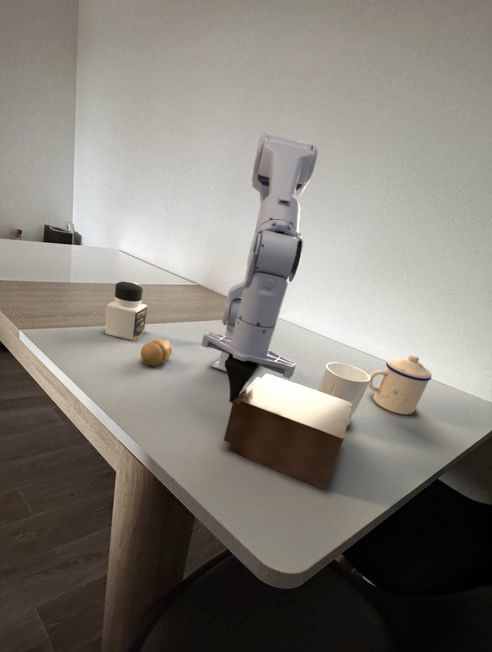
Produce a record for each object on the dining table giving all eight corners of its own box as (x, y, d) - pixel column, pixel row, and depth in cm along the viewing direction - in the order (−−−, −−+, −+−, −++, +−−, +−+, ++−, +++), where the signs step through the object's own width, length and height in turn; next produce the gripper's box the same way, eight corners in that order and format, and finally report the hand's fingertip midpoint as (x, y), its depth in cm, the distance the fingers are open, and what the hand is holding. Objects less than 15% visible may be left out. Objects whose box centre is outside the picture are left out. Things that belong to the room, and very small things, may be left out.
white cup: (351, 416, 77) (370, 370, 72) (351, 435, 70) (371, 386, 65) (312, 404, 78) (327, 358, 74) (307, 421, 71) (324, 372, 67)
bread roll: (155, 353, 86) (157, 333, 84) (174, 360, 85) (177, 340, 83) (134, 363, 79) (137, 341, 77) (155, 371, 78) (158, 349, 76)
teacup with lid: (403, 398, 90) (424, 352, 85) (422, 418, 82) (446, 368, 77) (354, 389, 89) (372, 342, 84) (367, 409, 81) (389, 358, 76)
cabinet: (228, 450, 59) (240, 400, 55) (254, 416, 69) (266, 373, 66) (323, 490, 54) (343, 439, 51) (335, 447, 65) (353, 403, 61)
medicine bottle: (133, 341, 90) (138, 289, 85) (104, 333, 91) (107, 282, 86) (144, 332, 97) (149, 284, 91) (117, 325, 97) (121, 277, 92)
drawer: (216, 437, 59) (225, 398, 56) (241, 408, 69) (250, 374, 66) (310, 476, 55) (325, 436, 52) (323, 439, 65) (336, 404, 62)
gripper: (200, 309, 55) (183, 393, 61) (297, 343, 51) (269, 429, 57) (220, 302, 61) (203, 378, 67) (309, 332, 57) (282, 410, 63)
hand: (234, 401), depth 62 cm, fingers closed, pressing on drawer
